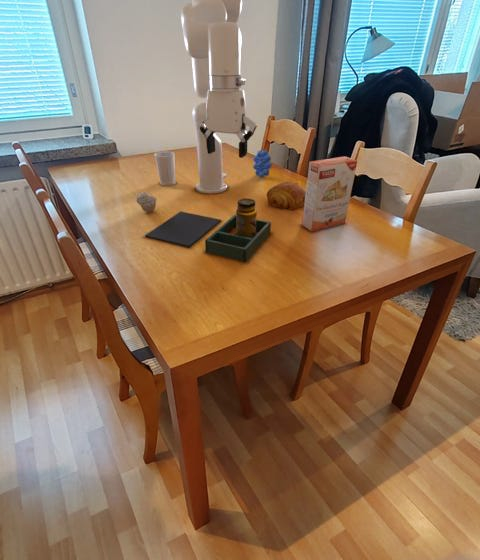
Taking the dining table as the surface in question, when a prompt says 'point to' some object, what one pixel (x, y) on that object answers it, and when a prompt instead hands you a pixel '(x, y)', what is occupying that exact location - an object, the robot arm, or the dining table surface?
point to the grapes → (262, 163)
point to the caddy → (236, 241)
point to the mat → (183, 229)
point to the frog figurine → (146, 202)
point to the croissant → (286, 195)
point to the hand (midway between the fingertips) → (226, 154)
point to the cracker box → (328, 192)
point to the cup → (166, 167)
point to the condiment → (246, 218)
